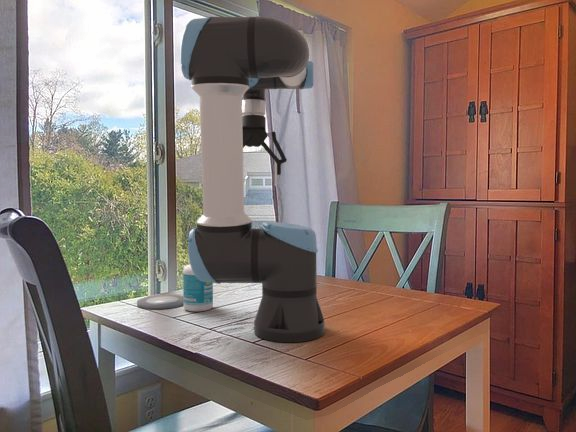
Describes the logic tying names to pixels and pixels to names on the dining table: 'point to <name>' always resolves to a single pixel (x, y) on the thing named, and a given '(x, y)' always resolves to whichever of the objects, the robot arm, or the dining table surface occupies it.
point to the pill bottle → (196, 292)
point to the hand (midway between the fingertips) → (253, 186)
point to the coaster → (160, 302)
